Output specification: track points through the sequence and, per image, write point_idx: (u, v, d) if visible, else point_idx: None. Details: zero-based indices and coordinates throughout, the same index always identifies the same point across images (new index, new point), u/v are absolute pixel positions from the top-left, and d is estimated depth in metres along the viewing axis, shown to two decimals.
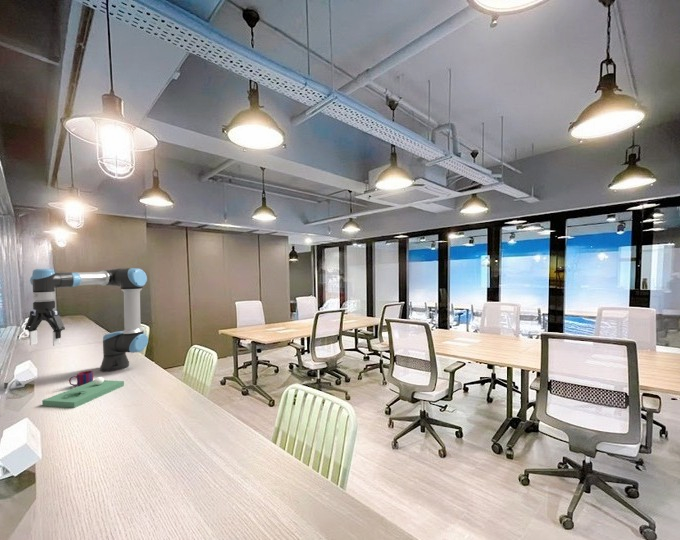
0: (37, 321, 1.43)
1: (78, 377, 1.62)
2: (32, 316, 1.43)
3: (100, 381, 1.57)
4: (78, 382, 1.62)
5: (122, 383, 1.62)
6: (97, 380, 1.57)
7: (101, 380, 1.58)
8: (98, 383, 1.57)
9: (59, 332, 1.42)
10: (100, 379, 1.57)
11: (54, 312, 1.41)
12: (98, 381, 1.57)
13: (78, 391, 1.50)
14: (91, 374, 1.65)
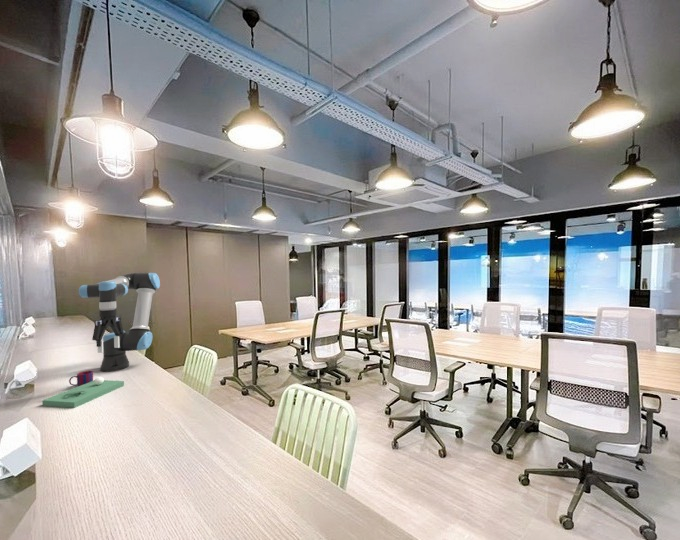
0: (111, 326, 1.67)
1: (78, 377, 1.62)
2: (116, 322, 1.70)
3: (100, 381, 1.57)
4: (78, 382, 1.62)
5: (122, 383, 1.62)
6: (97, 380, 1.57)
7: (101, 380, 1.58)
8: (98, 383, 1.57)
9: (97, 341, 1.58)
10: (100, 379, 1.57)
11: (95, 322, 1.57)
12: (98, 381, 1.57)
13: (78, 391, 1.50)
14: (91, 374, 1.65)
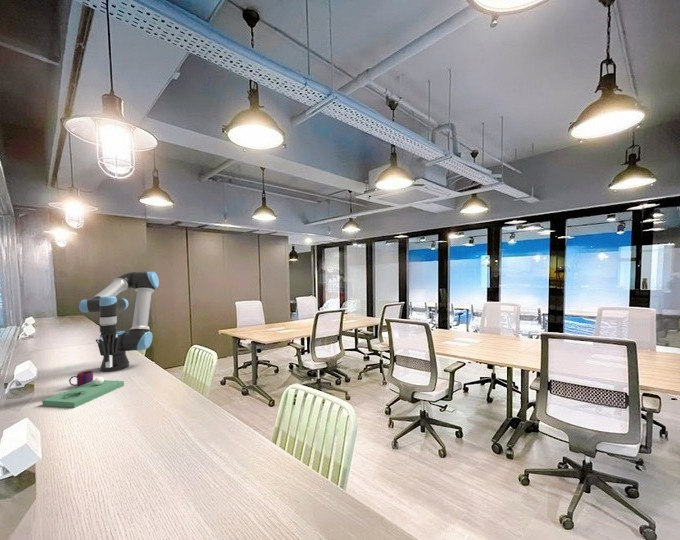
0: None
1: (78, 377, 1.62)
2: (114, 338, 1.68)
3: (100, 381, 1.57)
4: (78, 382, 1.62)
5: (122, 383, 1.62)
6: (97, 380, 1.57)
7: (101, 380, 1.58)
8: (98, 383, 1.57)
9: (105, 357, 1.62)
10: (100, 379, 1.57)
11: (96, 341, 1.58)
12: (98, 381, 1.57)
13: (78, 391, 1.50)
14: (91, 374, 1.65)
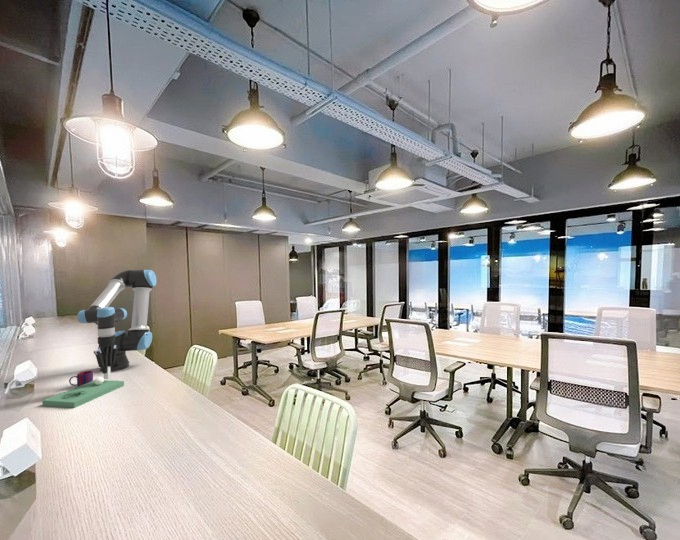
0: None
1: (78, 377, 1.62)
2: None
3: (100, 381, 1.57)
4: (78, 382, 1.62)
5: (122, 383, 1.62)
6: (97, 380, 1.57)
7: (101, 380, 1.58)
8: (98, 383, 1.57)
9: (103, 368, 1.61)
10: (100, 379, 1.57)
11: (94, 353, 1.57)
12: (98, 381, 1.57)
13: (78, 391, 1.50)
14: (91, 374, 1.65)
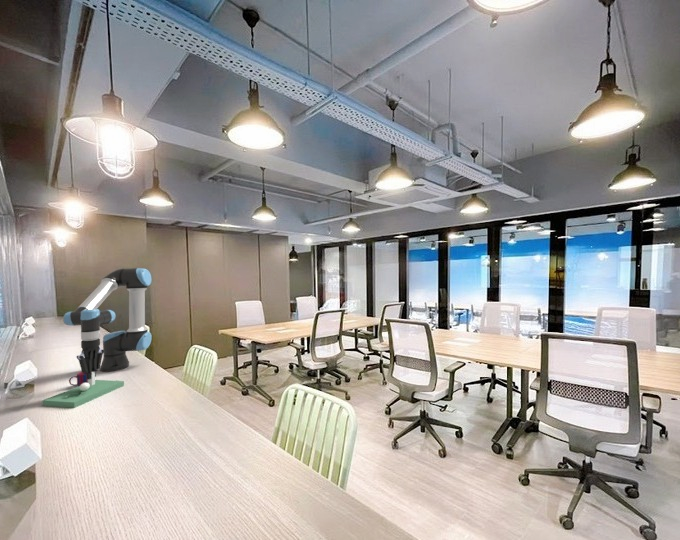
0: None
1: (78, 377, 1.62)
2: (97, 354, 1.58)
3: (88, 385, 1.51)
4: (78, 382, 1.62)
5: (122, 383, 1.62)
6: None
7: (88, 386, 1.51)
8: (87, 383, 1.51)
9: (87, 374, 1.52)
10: (89, 386, 1.52)
11: (77, 357, 1.48)
12: (89, 384, 1.52)
13: (78, 391, 1.50)
14: None
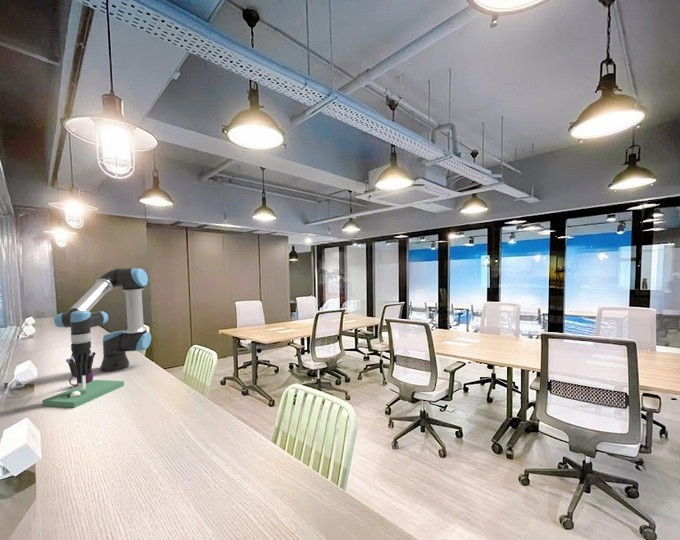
0: None
1: None
2: (88, 357, 1.54)
3: None
4: None
5: (122, 383, 1.62)
6: (73, 395, 1.44)
7: (77, 394, 1.45)
8: None
9: (78, 377, 1.47)
10: (76, 394, 1.45)
11: (67, 361, 1.43)
12: (74, 396, 1.44)
13: None
14: (91, 374, 1.65)
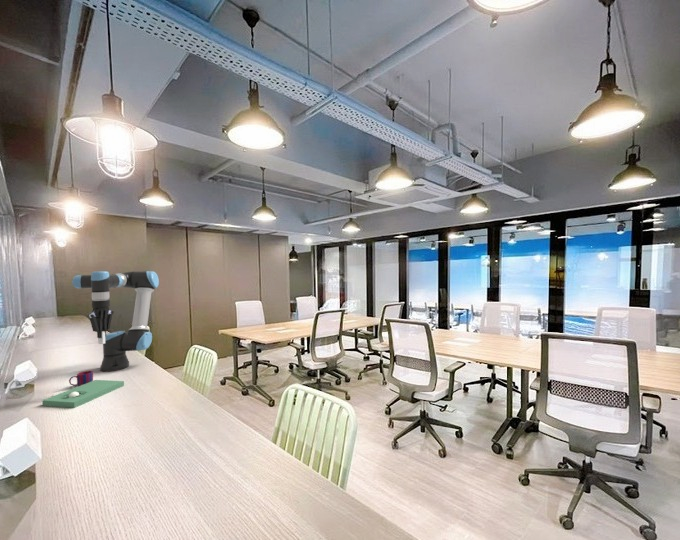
0: None
1: (78, 377, 1.62)
2: (107, 315, 1.64)
3: None
4: (78, 382, 1.62)
5: (122, 383, 1.62)
6: None
7: None
8: None
9: (98, 333, 1.58)
10: (74, 395, 1.44)
11: (88, 316, 1.54)
12: None
13: (78, 391, 1.50)
14: (91, 374, 1.65)
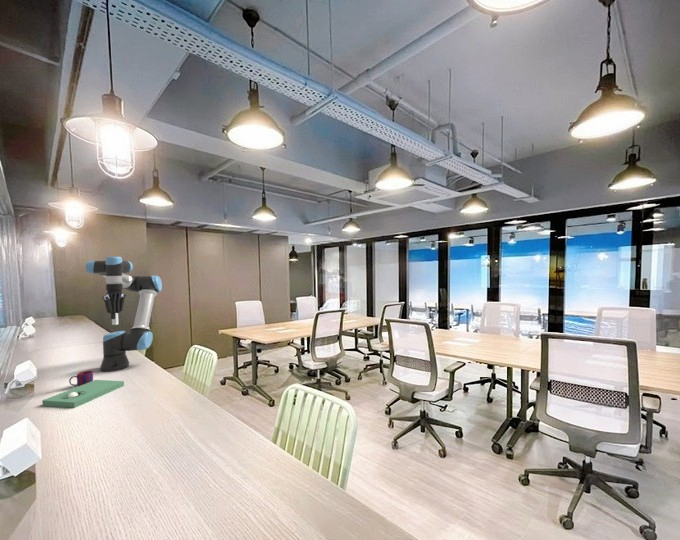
0: None
1: (78, 377, 1.62)
2: (120, 298, 1.74)
3: None
4: (78, 382, 1.62)
5: (122, 383, 1.62)
6: None
7: (74, 396, 1.44)
8: None
9: (112, 314, 1.68)
10: (72, 396, 1.43)
11: (103, 298, 1.64)
12: None
13: (78, 391, 1.50)
14: (91, 374, 1.65)
